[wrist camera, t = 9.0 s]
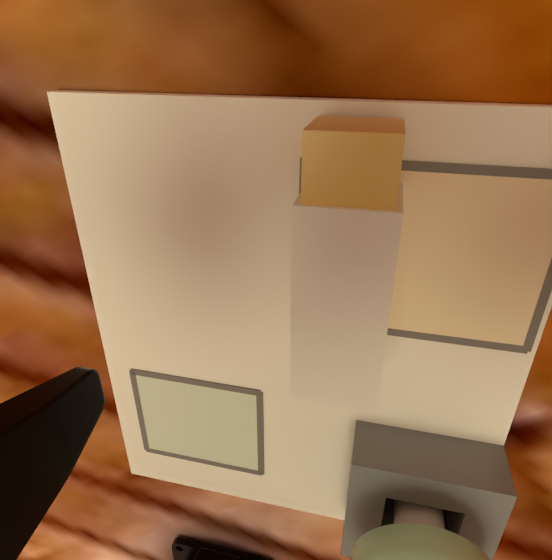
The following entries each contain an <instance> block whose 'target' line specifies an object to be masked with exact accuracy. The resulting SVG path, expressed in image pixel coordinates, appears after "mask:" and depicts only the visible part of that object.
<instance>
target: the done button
mask: <svg viewBox="0 0 552 560" xmlns="http://www.w3.org/2000/svg"><path fill="white" fill-rule="evenodd" d="M351 560H490V559H489V557H488V556H487V555H486V554H485V552H484V551H483V550H481V549H480V548H479V547H478V546H477V545H475V544H474V543H472V542H471V541H469V540H468V539H466V538H464V537H462V536H460V535H458V534H456V533H453V532H451V531H448V530H445V525H444V515H443V509H439V508H434V507H430V506H425V505H420V504H415V503H410V502H405V501H400V500H396V499H394V524H390V525H384V526H381V527H377V528H375V529H372V530H370V531H368V532H367V533H365V534H363V535H362V536H361V537H360V538H359V539H358V540H357V541H356V543H355V545H354V546H353V549H352V555H351Z"/></svg>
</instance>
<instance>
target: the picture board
mask: <svg viewBox="0 0 552 560" xmlns="http://www.w3.org/2000/svg"><path fill="white" fill-rule="evenodd" d="M47 95H48V99H49V104H50V108H51V113H52V117H53V122H54V127H55V131H56V136H57V140H58V145H59V149H60V154H61V158H62V163H63V167H64V172H65V176H66V181H67V185H68V190H69V194H70V199H71V203H72V208H73V212H74V217H75V221H76V226H77V230H78V235H79V239H80V244H81V248H82V253H83V257H84V262H85V266H86V271H87V275H88V280H89V284H90V289H91V294H92V298H93V303H94V307H95V312H96V316H97V321H98V325H99V330H100V334H101V339H102V343H103V348H104V352H105V357H106V361H107V366H108V370H109V375H110V379H111V384H112V388H113V393H114V397H115V402H116V406H117V411H118V415H119V420H120V424H121V429H122V433H123V438H124V442H125V447H126V452H127V456H128V461H129V465H130V470H131V473H132V474H136V475H141V476H145V477H150V478H155V479H159V480H164V481H168V482H173V483H177V484H182V485H186V486H191V487H195V488H200V489H204V490H209V491H213V492H218V493H223V494H227V495H232V496H236V497H241V498H245V499H250V500H254V501H259V502H263V503H268V504H272V505H277V506H282V507H286V508H291V509H295V510H300V511H304V512H309V513H313V514H318V515H322V516H327V517H331V518H336V519H340V520H344V519H345V510H346V502H347V493H348V485H349V476H350V468H351V459H352V451H353V443H354V434H355V426H356V420H360V421H365V422H371V423H377V424H383V425H388V426H394V427H400V428H406V429H411V430H417V431H423V432H429V433H434V434H440V435H446V436H452V437H457V438H463V439H469V440H474V441H480V442H486V443H492V444H497V445H503V446H504V444H505V441H506V438H507V435H508V432H509V429H510V426H511V423H512V420H513V417H514V415H515V412H516V409H517V406H518V403H519V400H520V397H521V394H522V391H523V388H524V386H525V383H526V380H527V377H528V374H529V371H530V368H531V365H532V362H533V359H534V356H535V354H536V351H537V348H538V345H539V342H540V339H541V336H542V333H543V330H544V327H545V324H546V322H547V319H548V316H549V313H550V310H551V307H552V105H545V104H512V103H478V102H445V101H411V100H377V99H344V98H310V97H277V96H243V95H209V94H176V93H142V92H108V91H75V90H54V91H48V92H47ZM317 116H341V117H373V118H404V121H405V132H406V135H405V143H404V151H403V158H402V166H401V174H400V182H399V183H402V185H403V213H404V214H403V221H402V229H401V236H400V243H399V251H398V258H397V265H396V272H395V280H394V287H393V294H392V301H391V309H390V316H389V323H388V331H387V338H386V345H385V352H384V360H383V367H382V374H381V382H380V389H379V396H378V403H377V411H370V410H364V409H358V408H352V407H346V406H340V405H334V404H328V403H322V402H316V401H309V400H303V399H297V398H291V397H289V389H290V323H291V257H292V205H293V204H294V202H295V201H296V199H297V198H298V196H299V194H300V193H301V170H302V130H303V129H304V128H305V127H306V126H307V125H308V124H309V123H310V122H312V121H313V120H314V119H315V118H316V117H317Z"/></svg>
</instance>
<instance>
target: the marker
mask: <svg viewBox="0 0 552 560" xmlns="http://www.w3.org/2000/svg"><path fill="white" fill-rule="evenodd" d="M405 135H406V132H405V121H404V118H373V117H341V116H317V117H316V118H315V119H314V120H313V121H312V122H310V123H309V124H308V125H307V126H306V127H305V128H304V129H303V130H302V170H301V193H300V194H299V196H298V198H297V199H296V201H295V202H294V204H293V205H292V257H291V323H290V389H289V397H291V398H297V399H303V400H309V401H316V402H322V403H328V404H334V405H340V406H346V407H352V408H358V409H364V410H370V411H377V403H378V396H379V389H380V382H381V374H382V367H383V360H384V352H385V345H386V338H387V331H388V323H389V316H390V309H391V301H392V294H393V287H394V280H395V272H396V265H397V258H398V251H399V243H400V236H401V229H402V221H403V214H404V213H403V185H402V183H399V182H400V174H401V166H402V158H403V151H404V143H405Z"/></svg>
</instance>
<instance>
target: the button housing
mask: <svg viewBox="0 0 552 560" xmlns="http://www.w3.org/2000/svg"><path fill="white" fill-rule="evenodd" d="M394 499H396V500H400V501H405V502H410V503H415V504H420V505H425V506H430V507H434V508H439V509H443V515H444V525H445V530H448V531H451V532H453V533H456V534H458V535H460V536H462V537H464V538H466V539H468V540H469V541H471V542H472V543H474V544H475V545H477V546H478V547H479V548H480V549H481V550H483V551H484V552H485V554H486V555H487V556H488V557H489V559H490V560H492V559H493V557H494V554H495V552H496V549H497V547H498V544H499V542H500V539H501V537H502V534H503V532H504V529H505V526H506V524H507V521H508V519H509V516H510V514H511V511H512V509H513V506H514V504H515V501H516V499H517V494H516V490H515V486H514V483H513V479H512V475H511V471H510V467H509V463H508V460H507V456H506V452H505V448H504V446H503V445H497V444H492V443H486V442H480V441H474V440H469V439H463V438H457V437H452V436H446V435H440V434H434V433H429V432H423V431H417V430H411V429H406V428H400V427H394V426H388V425H383V424H377V423H371V422H365V421H360V420H356V426H355V434H354V443H353V451H352V459H351V468H350V476H349V485H348V493H347V502H346V510H345V519H344V528H343V537H342V546H341V555H342V556H347V557H351V555H352V549H353V546H354V545H355V543H356V541H357V540H358V539H359V538H360V537H361V536H362V535H363V534H365V533H367V532H368V531H370V530H372V529H375V528H377V527H381V526H384V525H390V524H394Z"/></svg>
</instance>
